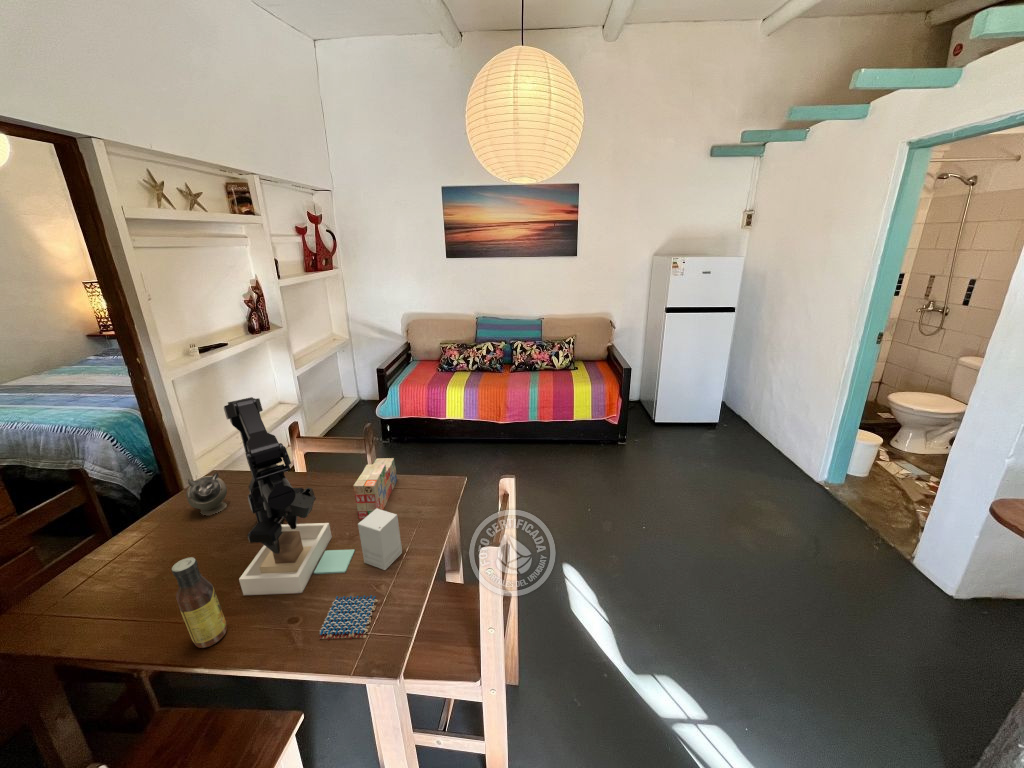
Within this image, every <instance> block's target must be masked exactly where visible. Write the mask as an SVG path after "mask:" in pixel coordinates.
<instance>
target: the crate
mask: <svg viewBox="0 0 1024 768" xmlns="http://www.w3.org/2000/svg"><path fill="white" fill-rule="evenodd" d="M281 526H282V531H299V532H300V536H301V541H302V545H303V551H302V552H301V554H300V556H299V557H298V559H297V561H296V562H295V563H278V564H275V560H274V556H273V552H272V551H271V550H270V549H269V548H267V547H266V546H265V545H263V546H262V547H261V548H260V550H259V551H258V552H257V553H256V555H255V556H254V558H253V559H252V561H251V562H250V564H249V565H248V566H247V567H246V569H245V570H244V572H243V573H242V575H240V577H239V578H238V581H239V584H240V588H241V592H242V595H243V596H260V595H263V596H264V595H284V594H302V593H303V592H304V591H305V589H306V586H307V585H308V584H309V582H310V579H311V577H312V575H313V574H314V571H315V569H316V567H317V565H318V564H319V562H320V560H321V558H322V556H323V554H324V552H325V550H326V549H327V547H328V545H329V543H330V541H331V540H332V537H333V536H332V532H331V531H332V530H331V526H330V522H320V523H319V522H318V523H317V522H316V523H315V522H314V523H297V525H296V529H291V528H290V526H289V525H288V523H287V524H284V523H283V524H282V523H281ZM282 531H281V532H282Z"/></svg>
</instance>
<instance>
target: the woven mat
mask: <svg viewBox="0 0 1024 768" xmlns="http://www.w3.org/2000/svg"><path fill="white" fill-rule="evenodd" d="M378 602H379V600H378V599H377V597H376V595H375V596H373V595H372V594H371V595H370V596H366V595H364V594H363V596H359V595H357V596H354V597H353V595H350V596H349V597H348V596H347V597H346V596H345V595H343V597H342V596H341V597H339V596H337V595H336V597H335V600H334V601H333V602H331V603H332V604H331V607H329V610H328V612H327V616H326V617H325V618H324V621H323V624H322V625H321V628H320V629H319V635H320V636H319V639H320V640H323V639H324V640H331V639H332V640H333V639H335V640H337V639H351V640H352V639H359V638H361V639H362V638H363V639H364V638H367V634H366V633H368V631H369V629H370V625H369V624H371V623H372V621H371V619H372V617H371V616H373V612H374V611H375V610H376V607H377V605H375V604H376V603H378Z"/></svg>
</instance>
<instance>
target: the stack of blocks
mask: <svg viewBox="0 0 1024 768" xmlns="http://www.w3.org/2000/svg"><path fill="white" fill-rule="evenodd" d="M397 482H398V478H397V469H396V465H395V458H394V457H391V458H390V457H389V458H388V457H387V458H384V457H383V458H376V459H375V460H374V462H373V464H369V463H368V464H366V465H365V466H364V468H363V471H362V472H361V474H360V475H359V477H358V478H357V480H356V481H355V483H354V484H353V493H354V499H355V503H356V511H357V515H358V517H357V518H358V519H359V520H363V519H364V518H366V517H367V516H368V515H369V514H370V513H372V512H373V511H374V510H375V509H376V508H377V509H380V510H384V509H385V507H386V505H387V503H388V500H389V498H390V495H391V494H392V492H393V490H394V488H395V485H396V483H397Z"/></svg>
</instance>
